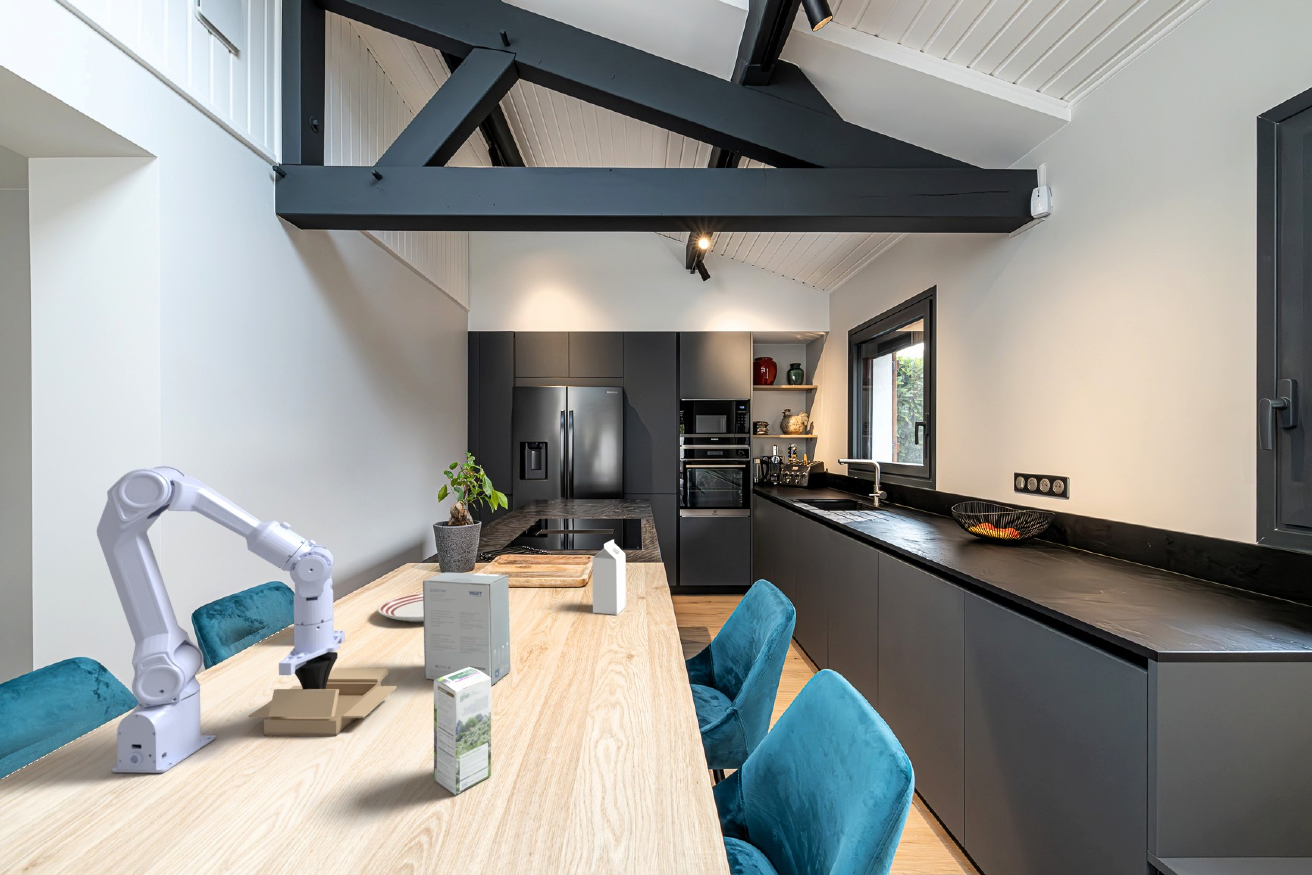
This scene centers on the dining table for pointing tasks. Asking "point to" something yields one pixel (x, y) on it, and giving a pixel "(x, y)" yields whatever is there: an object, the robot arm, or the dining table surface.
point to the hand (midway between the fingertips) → (315, 699)
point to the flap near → (304, 703)
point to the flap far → (358, 675)
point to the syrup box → (462, 729)
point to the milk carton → (609, 580)
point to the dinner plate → (404, 608)
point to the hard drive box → (466, 624)
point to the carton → (350, 705)
